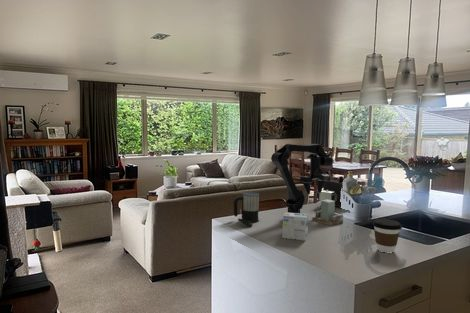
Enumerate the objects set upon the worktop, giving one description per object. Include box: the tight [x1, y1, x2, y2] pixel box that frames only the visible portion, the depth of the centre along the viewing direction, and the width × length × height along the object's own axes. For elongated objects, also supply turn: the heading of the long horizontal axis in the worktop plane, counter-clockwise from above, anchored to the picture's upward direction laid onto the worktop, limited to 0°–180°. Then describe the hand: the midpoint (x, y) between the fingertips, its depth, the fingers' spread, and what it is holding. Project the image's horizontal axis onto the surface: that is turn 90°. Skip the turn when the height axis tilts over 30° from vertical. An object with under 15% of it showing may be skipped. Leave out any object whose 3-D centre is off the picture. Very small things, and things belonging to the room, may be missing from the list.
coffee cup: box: [371, 218, 403, 254], centre depth 136 cm, size 11×11×12 cm
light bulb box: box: [281, 211, 309, 242], centre depth 151 cm, size 11×7×11 cm, turn 71°
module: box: [320, 199, 336, 221], centre depth 179 cm, size 5×5×10 cm
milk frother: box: [232, 191, 260, 227], centre depth 174 cm, size 14×16×15 cm
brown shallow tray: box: [311, 210, 344, 226], centre depth 179 cm, size 10×12×4 cm
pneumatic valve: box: [316, 189, 337, 202], centre depth 207 cm, size 6×12×12 cm, turn 51°
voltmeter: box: [322, 175, 344, 208], centre depth 217 cm, size 16×16×20 cm
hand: (314, 193), depth 189 cm, fingers open, 9 cm apart
